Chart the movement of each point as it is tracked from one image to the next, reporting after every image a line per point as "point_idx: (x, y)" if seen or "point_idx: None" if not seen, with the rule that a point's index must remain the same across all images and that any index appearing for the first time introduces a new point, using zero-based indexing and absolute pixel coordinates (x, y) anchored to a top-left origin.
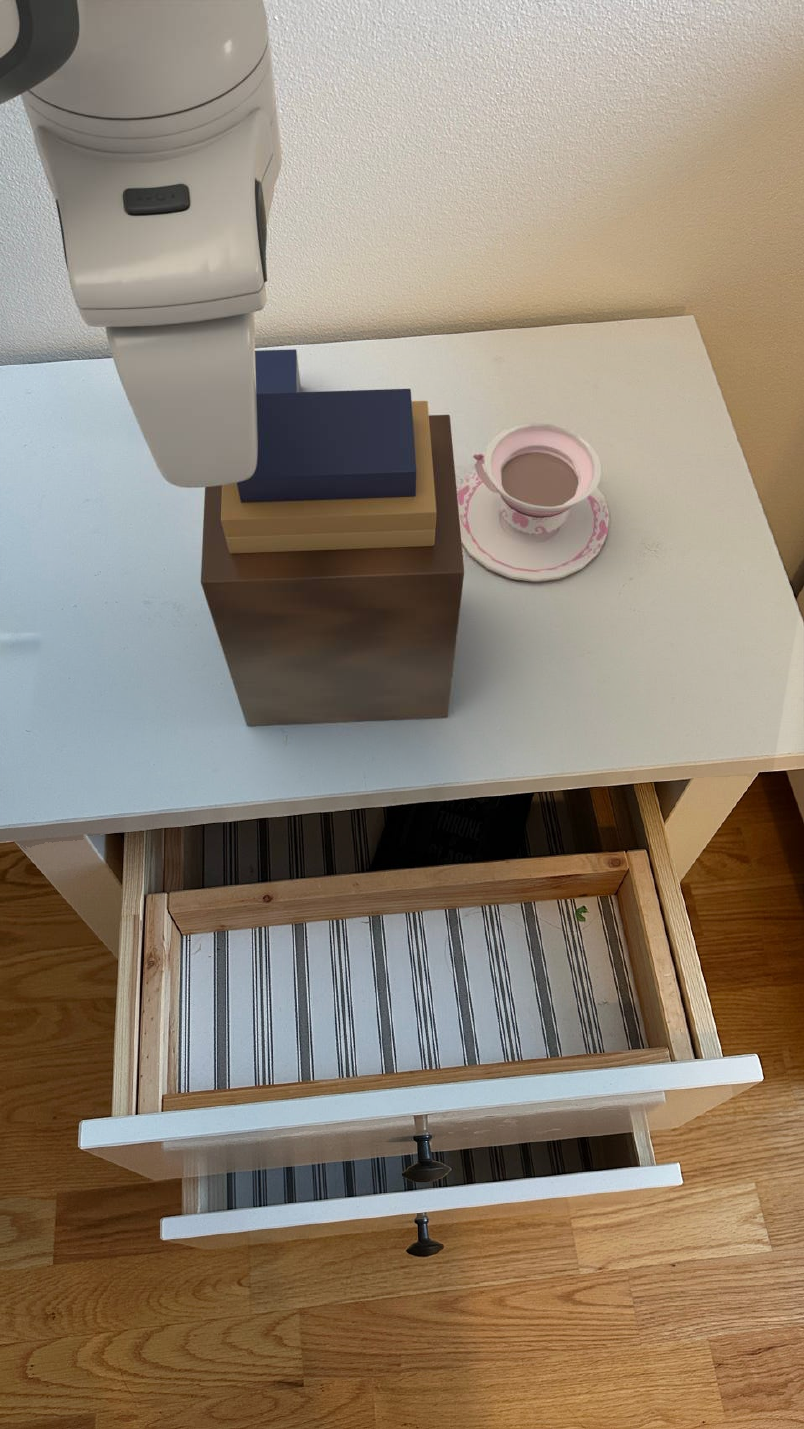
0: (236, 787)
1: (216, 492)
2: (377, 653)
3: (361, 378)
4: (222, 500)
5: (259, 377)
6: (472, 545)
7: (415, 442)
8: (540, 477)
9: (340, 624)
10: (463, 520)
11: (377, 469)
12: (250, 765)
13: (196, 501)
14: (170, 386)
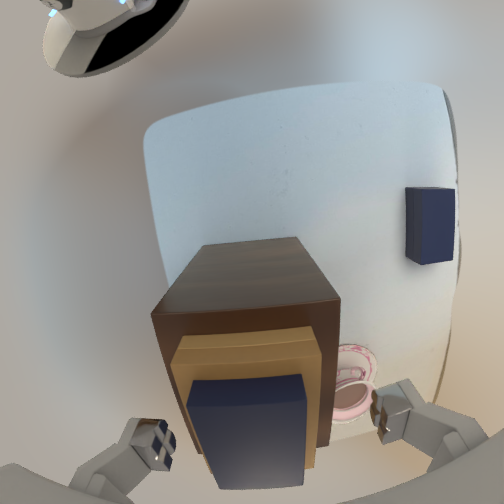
0: (166, 244)
1: (251, 318)
2: None
3: (436, 285)
4: (192, 365)
5: (438, 239)
6: None
7: None
8: (350, 394)
9: None
10: (341, 350)
11: (217, 477)
12: (179, 250)
13: (363, 195)
14: None
